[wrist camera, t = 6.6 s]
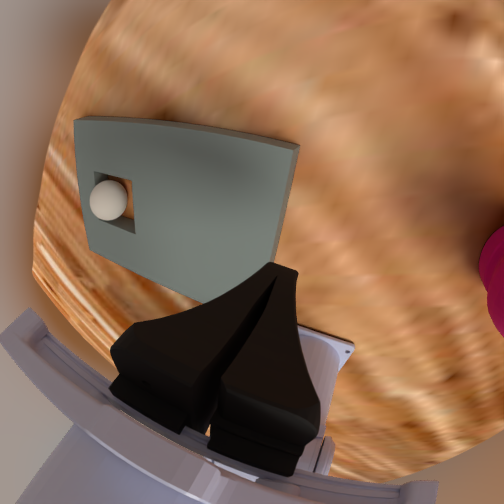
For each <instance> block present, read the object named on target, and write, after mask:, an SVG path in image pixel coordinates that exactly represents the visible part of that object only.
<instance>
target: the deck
mask: <svg viewBox="0 0 504 504" xmlns="http://www.w3.org/2000/svg"><path fill="white" fill-rule="evenodd" d="M74 142H75V157H76V168H77V178H78V186H79V193H80V200H81V207H82V213H83V219H84V224H85V230H86V235H87V239H88V244H89V249H90V250H91V251H93V252H95V253H97V254H99V255H101V256H103V257H105V258H107V259H109V260H110V261H112V262H114V263H116V264H118V265H120V266H122V267H124V268H127V269H129V270H131V271H133V272H135V273H137V274H139V275H141V276H143V277H145V278H147V279H149V280H152V281H154V282H156V283H158V284H160V285H162V286H165V287H167V288H169V289H171V290H173V291H176V292H178V293H180V294H182V295H185V296H187V297H189V298H192V299H194V300H196V301H198V302H201V303H203V304H204V303H206V302H209V301H211V300H213V299H215V298H217V297H219V296H220V295H222V294H224V293H226V292H227V291H229V290H231V289H232V288H234V287H236V286H237V285H239V284H240V283H242V282H243V281H245V280H246V279H247V278H249V277H250V276H252V275H253V274H254V273H256V272H257V271H258V270H259V269H260V268H262V267H263V266H264V265H265V264H266V263H268V262H273V263H274V259H275V255H276V251H277V247H278V242H279V238H280V234H281V229H282V225H283V221H284V216H285V212H286V207H287V203H288V199H289V194H290V190H291V185H292V180H293V176H294V171H295V167H296V162H297V157H298V153H299V148H300V145H296V144H292V143H288V142H284V141H280V140H276V139H272V138H267V137H263V136H258V135H253V134H248V133H243V132H238V131H233V130H227V129H222V128H216V127H210V126H203V125H196V124H189V123H181V122H173V121H164V120H154V119H142V118H127V117H105V116H87V117H83V118H79V119H76V120H74ZM108 175H112V176H116V177H120V178H124V179H128V180H131V181H132V192H133V208H134V220H132V219H129V218H126V217H124V216H121V215H120V216H119V217H118V218H116V219H113V220H102V219H100V218H98V217H97V216H95V215H94V213H93V212H92V210H91V207H90V195H91V192H92V190H93V189H94V187H95V186H96V185H97V184H99V183H100V182H102V181H106V180H109V178H108Z"/></svg>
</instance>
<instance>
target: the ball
mask: <svg viewBox="0 0 504 504" xmlns="http://www.w3.org/2000/svg"><path fill="white" fill-rule="evenodd" d="M127 201H128V197H127V193H126V190H125V188H124V187H123V186H122V185H121V184H120V183H118V182H116V181H113V180H106V181H102V182H100V183H99V184H97V185H96V186H95V187H94V189H93V190H92V192H91V195H90V207H91V210H92V212H93V213H94V215H95V216H97V217H98V218H100V219H102V220H113V219H116V218H118V217H119V216H120V215H121V214H122V213H123V212H124V210H125V209H126V206H127Z"/></svg>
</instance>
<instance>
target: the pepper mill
mask: <svg viewBox="0 0 504 504" xmlns="http://www.w3.org/2000/svg"><path fill="white" fill-rule="evenodd" d="M479 274H480V277H481V280H482V282H483V284H484V286H485V289H486V291H487V292H488V294H487V306H488V311H489V314H490V316H491V319H492V321H493V323H494V325H495V327H496V328H497V330H498V331H499V332H500V334H501V335H502V336H503V337H504V226H503V227H501V228H499V229H498V230H497V231H495V232H494V233H493V234H492V236H491V237H490V238H489V239H488V240H487V242H486V244H485V246H484V248H483V249H482V252H481V256H480V260H479Z"/></svg>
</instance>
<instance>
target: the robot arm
mask: <svg viewBox="0 0 504 504" xmlns="http://www.w3.org/2000/svg"><path fill="white" fill-rule="evenodd" d="M297 277H298V272H297V271H296V270H293V269H290V268H287V267H285V266H282V265H279V264H276V263H273V262H268V263H266V264H265V265H264V266H263V267H262V268H260V269H259V270H258V271H257V272H256V273H254V274H253V275H252V276H250V277H249V278H247V279H246V280H245V281H243V282H242V283H240V284H239V285H237V286H236V287H234V288H232V289H231V290H229V291H227V292H226V293H224V294H222V295H220V296H219V297H217V298H215V299H213V300H211V301H209V302H206V303H204V304H202V305H199V306H197V307H195V308H192V309H189V310H187V311H184V312H181V313H177V314H174V315H170V316H167V317H163V318H159V319H154V320H148V321H143V322H136V323H134V324H133V325H132V326H130V327H129V328H128V329H127V330H126V331H125V332H124V333H123V334H122V335H121V336H120V337H119V338H118V340H117V341H116V342H115V343H114V344H113V345H112V346H111V348H110V353H111V357H112V359H113V361H114V363H115V366H116V368H117V370H118V372H119V375H118V377H117V378H116V379H115V380H114V381H113V383H112V382H111V381H109V380H108V379H107V378H105V377H104V376H102V375H101V374H100V373H98V372H97V371H96V370H94V369H93V368H92V367H90V366H89V365H88V364H86V363H85V362H84V361H83V360H81V359H80V358H79V357H78V356H76V355H75V354H74V353H73V352H72V351H70V350H69V349H68V348H67V347H66V346H64V345H63V344H62V343H61V342H60V341H59V340H58V339H56V338H55V337H54V336H53V335H52V334H51V333H50V332H49V331H48V328H47V326H46V325H45V323H44V321H43V320H42V319H41V318H40V317H39V316H38V315H37V314H36V313H35V312H34V311H33V310H32V309H31V308H28V309H27V310H25V311H24V312H23V313H22V314H21V315H20V316H19V317H18V318H17V319H16V320H15V321H14V322H13V323H11V324H10V325H9V326H8V327H7V328H6V329H5V330H4V331H3V332H2V333H1V334H0V343H1V344H2V346H3V347H4V348H5V350H6V351H7V352H8V354H9V355H10V356H11V357H12V359H13V360H14V361H15V363H16V364H17V365H18V366H19V367H20V369H21V370H22V371H23V372H24V373H25V375H26V376H27V377H28V378H29V379H30V380H31V381H32V382H33V384H34V385H35V386H36V387H37V388H38V389H39V390H40V391H41V392H42V393H43V394H44V395H45V396H46V397H47V398H48V399H49V400H50V401H51V402H52V403H53V404H54V405H55V406H56V407H57V408H58V409H59V410H60V411H61V412H62V413H63V414H64V415H66V416H67V417H68V418H69V419H70V420H71V421H72V422H74V425H73V426H72V428H71V429H70V430H69V431H68V432H67V434H66V435H65V436H64V438H63V439H62V440H61V442H60V443H59V445H58V446H57V447H56V448H55V450H54V451H53V452H52V453H51V455H50V456H49V458H48V459H47V460H46V462H45V463H44V464H43V466H42V467H41V468H40V470H39V471H38V472H37V474H36V475H35V477H34V478H33V479H32V481H31V482H30V484H29V485H28V486H27V488H26V489H25V491H24V492H23V494H22V495H21V496H20V498H19V499H18V500H17V502H16V503H15V504H435V502H436V497H437V490H438V483H439V482H438V481H421V480H420V481H411V482H407V483H405V484H403V485H392V484H380V483H370V482H362V481H355V480H349V479H343V478H337V477H332V476H327V475H328V473H329V470H330V466H331V463H332V459H333V455H334V451H335V443H334V442H333V440H332V437H329V436H325V438H324V440H323V436H324V433H325V429H326V425H325V423H326V419H327V416H328V412H329V408H330V404H331V400H332V396H333V391H334V387H335V383H336V378H337V373H338V372H339V370H340V369H341V368H342V366H343V365H344V364H345V362H346V361H347V359H348V358H349V357H350V355H351V354H352V352H353V351H354V349H355V345H354V344H352V343H349V342H346V341H343V340H340V339H337V338H334V337H331V336H328V335H325V334H322V333H319V332H316V331H313V330H310V329H307V328H304V327H301V326H298V325H297V316H296V282H297ZM347 350H349V351H347ZM118 408H119V409H118ZM120 410H122V411H123V412H125V413H126V414H128V415H129V416H131V417H132V418H134V419H135V420H137V421H139V422H140V423H142V424H144V425H145V426H147V427H149V428H150V429H152V430H154V431H155V432H157V433H159V434H161V435H162V436H164V437H166V438H168V439H170V440H172V441H174V442H175V443H177V444H179V445H181V446H183V447H185V448H188V449H190V450H191V451H194V452H196V453H198V454H200V455H202V456H203V457H201V456H199V455H197V454H195V453H193V452H191V451H189V450H187V449H185V448H183V447H181V446H179V445H177V444H175V443H174V442H172V441H170V440H168V439H166V438H164V437H162V436H161V435H159V434H157V433H155V432H154V431H152V430H150V429H149V428H147V427H145V426H143V425H142V424H140V423H139V422H137V421H135V420H134V419H132V418H131V417H129V416H128V415H126V414H124V413H123V412H122V411H120ZM209 425H210V436H209V437H208V436H206V435H205V433H206V431H207V429H208V427H209ZM322 440H323V443H322ZM321 444H322V446H321ZM320 447H321V448H320Z"/></svg>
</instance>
